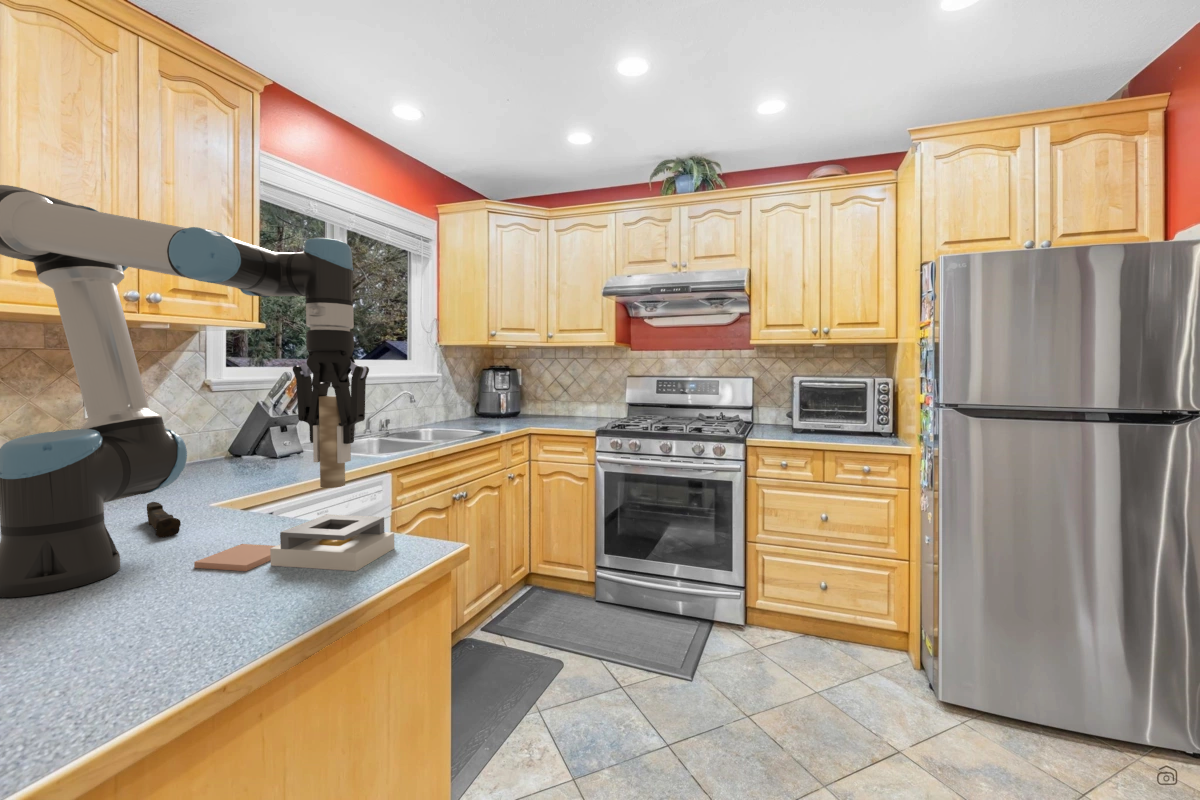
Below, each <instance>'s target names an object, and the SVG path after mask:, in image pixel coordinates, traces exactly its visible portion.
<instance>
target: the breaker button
mask: <svg viewBox="0 0 1200 800" xmlns="http://www.w3.org/2000/svg"><path fill="white" fill-rule="evenodd" d="M349 541H350V538H348V539H346V540H329V539H322V540H320V545H327V546H341V545H343V544H345V543H347V542H349Z"/></svg>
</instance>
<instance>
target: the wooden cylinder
mask: <svg viewBox="0 0 1200 800" xmlns="http://www.w3.org/2000/svg"><path fill="white" fill-rule="evenodd" d="M338 423H341V420H340V415H339V410H338V405H337V400H336V395H327V396H319V436H320V462H319V478H320V479H319V487H320V488H323V489H333V488H335V489H336V488H341V487H344V486H346V462H344V463H337V426H340V425H339V424H338Z"/></svg>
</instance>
